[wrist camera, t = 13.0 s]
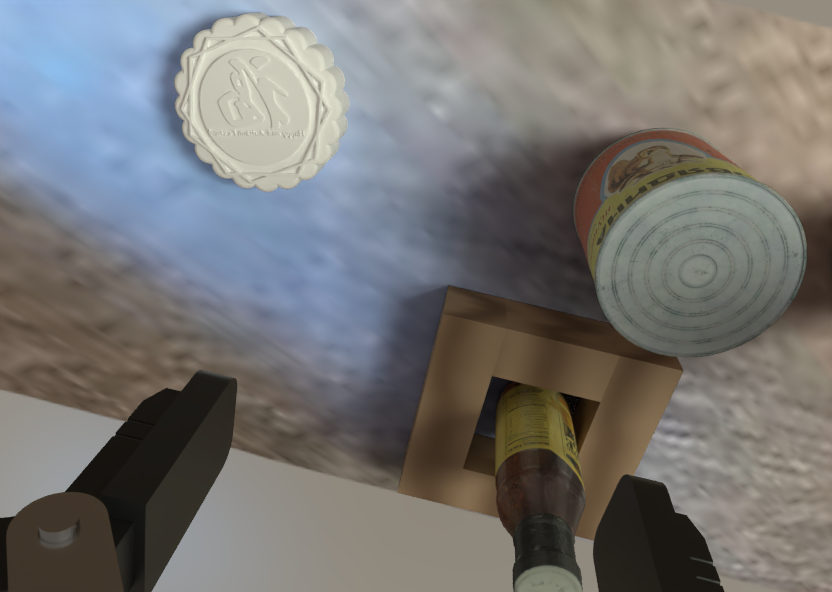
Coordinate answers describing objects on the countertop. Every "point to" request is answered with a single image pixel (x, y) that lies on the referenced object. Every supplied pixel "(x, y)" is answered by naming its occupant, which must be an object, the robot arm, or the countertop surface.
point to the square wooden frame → (542, 367)
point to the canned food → (686, 244)
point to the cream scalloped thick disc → (261, 101)
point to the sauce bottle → (539, 487)
